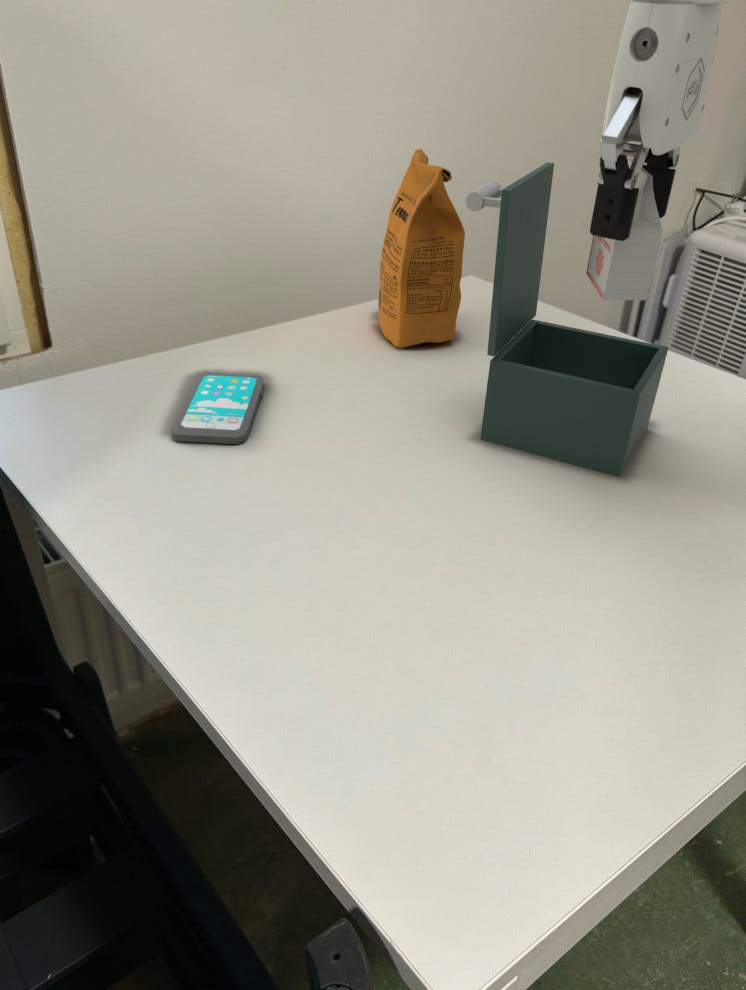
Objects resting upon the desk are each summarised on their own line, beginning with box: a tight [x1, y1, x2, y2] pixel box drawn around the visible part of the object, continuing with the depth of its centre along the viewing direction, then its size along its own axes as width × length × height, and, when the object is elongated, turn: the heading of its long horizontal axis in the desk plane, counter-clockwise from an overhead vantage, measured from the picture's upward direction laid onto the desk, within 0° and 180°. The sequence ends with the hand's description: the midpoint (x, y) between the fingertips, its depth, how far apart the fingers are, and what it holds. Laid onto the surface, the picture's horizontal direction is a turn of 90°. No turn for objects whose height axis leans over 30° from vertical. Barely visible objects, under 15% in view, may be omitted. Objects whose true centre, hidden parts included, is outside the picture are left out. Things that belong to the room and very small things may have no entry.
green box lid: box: [465, 162, 555, 357], centre depth 82 cm, size 15×13×6 cm
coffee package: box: [377, 148, 466, 349], centre depth 105 cm, size 10×12×22 cm
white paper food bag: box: [585, 157, 663, 301], centre depth 71 cm, size 4×7×10 cm, turn 179°
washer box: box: [479, 318, 669, 478], centre depth 86 cm, size 15×13×10 cm
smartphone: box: [170, 372, 265, 445], centre depth 93 cm, size 9×1×15 cm
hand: (628, 224), depth 71 cm, fingers closed on white paper food bag, 7 cm apart
